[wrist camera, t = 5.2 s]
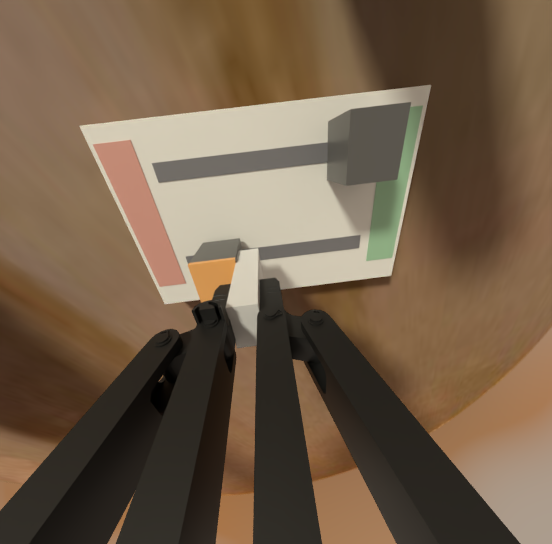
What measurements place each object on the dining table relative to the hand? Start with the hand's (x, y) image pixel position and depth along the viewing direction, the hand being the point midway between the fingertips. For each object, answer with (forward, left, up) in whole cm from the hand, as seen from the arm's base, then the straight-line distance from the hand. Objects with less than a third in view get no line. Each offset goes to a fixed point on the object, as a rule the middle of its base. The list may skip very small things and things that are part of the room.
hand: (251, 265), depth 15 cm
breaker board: (+2, +3, -4) cm, 5 cm away
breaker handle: (-2, 0, -2) cm, 3 cm away
